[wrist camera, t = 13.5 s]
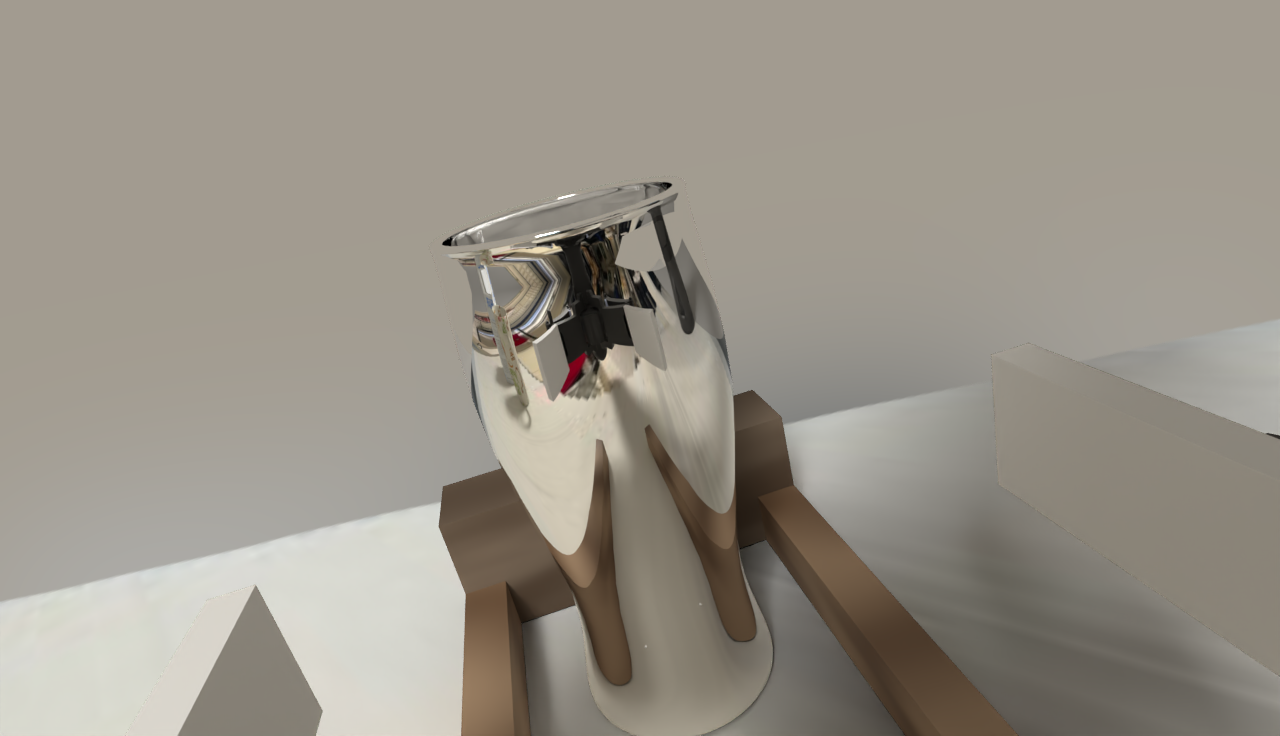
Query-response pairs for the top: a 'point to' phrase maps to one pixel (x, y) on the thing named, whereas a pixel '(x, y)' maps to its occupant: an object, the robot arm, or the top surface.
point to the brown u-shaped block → (766, 510)
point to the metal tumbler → (618, 437)
